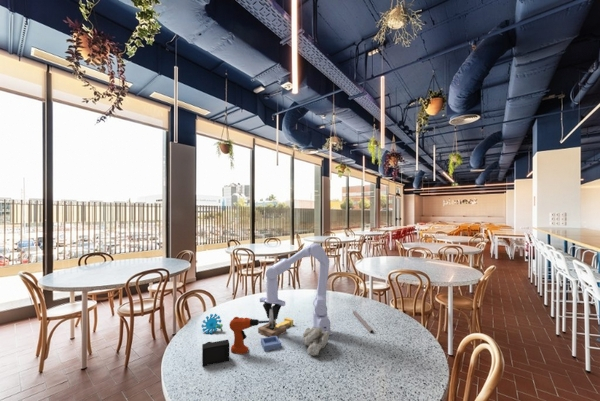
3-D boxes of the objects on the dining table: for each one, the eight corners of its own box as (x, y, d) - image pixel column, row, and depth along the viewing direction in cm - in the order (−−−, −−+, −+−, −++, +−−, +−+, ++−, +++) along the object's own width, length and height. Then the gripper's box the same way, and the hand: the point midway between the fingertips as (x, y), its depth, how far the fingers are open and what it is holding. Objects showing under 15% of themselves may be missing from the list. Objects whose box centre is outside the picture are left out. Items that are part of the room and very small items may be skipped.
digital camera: (228, 354, 113) (228, 337, 113) (229, 361, 108) (229, 343, 108) (202, 359, 109) (202, 342, 110) (202, 366, 104) (202, 348, 105)
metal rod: (370, 334, 132) (370, 330, 132) (352, 314, 158) (352, 310, 159) (373, 334, 132) (373, 329, 132) (355, 313, 159) (355, 310, 159)
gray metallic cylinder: (276, 327, 133) (276, 308, 134) (270, 328, 132) (269, 309, 132) (274, 324, 136) (274, 306, 137) (268, 325, 135) (268, 307, 136)
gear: (197, 330, 134) (207, 311, 141) (201, 334, 138) (211, 316, 145) (216, 335, 131) (225, 316, 137) (219, 340, 134) (229, 321, 141)
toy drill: (270, 353, 111) (266, 316, 112) (229, 355, 114) (225, 319, 115) (274, 347, 116) (269, 312, 117) (234, 349, 119) (230, 315, 120)
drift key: (293, 325, 142) (293, 319, 142) (279, 331, 134) (279, 326, 134) (286, 322, 146) (286, 317, 146) (272, 328, 138) (272, 323, 138)
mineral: (335, 335, 124) (325, 315, 126) (330, 352, 107) (319, 328, 110) (313, 346, 126) (303, 326, 128) (304, 364, 110) (293, 341, 112)
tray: (281, 347, 118) (281, 342, 118) (264, 351, 115) (264, 345, 116) (276, 340, 125) (276, 335, 125) (260, 343, 123) (260, 338, 123)
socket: (292, 328, 138) (292, 323, 138) (272, 338, 127) (272, 333, 127) (279, 323, 145) (279, 318, 145) (258, 332, 133) (258, 327, 133)
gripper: (288, 290, 135) (288, 318, 134) (265, 287, 142) (265, 313, 141) (280, 294, 129) (281, 323, 128) (257, 290, 136) (257, 317, 135)
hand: (272, 318), depth 134 cm, fingers closed on gray metallic cylinder, 3 cm apart
